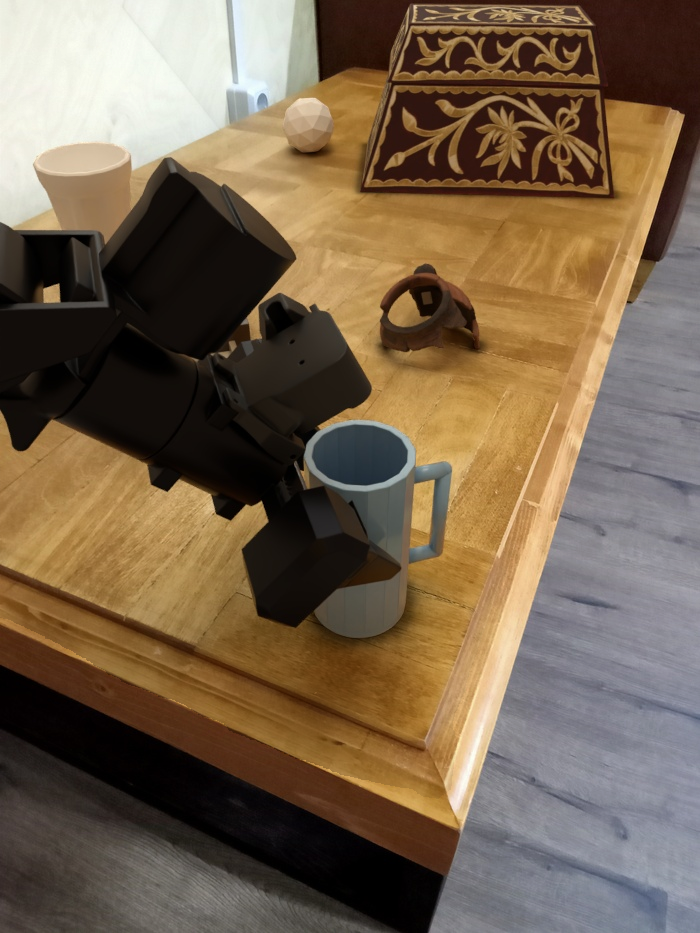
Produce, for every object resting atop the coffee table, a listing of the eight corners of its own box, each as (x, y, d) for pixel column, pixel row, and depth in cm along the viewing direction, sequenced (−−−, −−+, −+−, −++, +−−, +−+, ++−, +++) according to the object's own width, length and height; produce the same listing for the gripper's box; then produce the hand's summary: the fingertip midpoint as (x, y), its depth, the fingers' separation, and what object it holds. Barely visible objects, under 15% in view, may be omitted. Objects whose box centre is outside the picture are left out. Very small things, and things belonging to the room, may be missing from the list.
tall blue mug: (326, 648, 50) (321, 501, 41) (301, 576, 54) (292, 430, 46) (457, 615, 52) (477, 468, 43) (422, 548, 57) (434, 403, 48)
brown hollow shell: (495, 368, 75) (469, 315, 69) (406, 402, 78) (372, 354, 72) (471, 283, 82) (445, 228, 76) (390, 317, 85) (358, 266, 79)
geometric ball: (323, 167, 123) (352, 128, 118) (285, 160, 118) (314, 118, 112) (303, 131, 125) (330, 91, 120) (265, 122, 120) (292, 80, 114)
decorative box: (360, 191, 108) (361, 28, 95) (366, 145, 123) (368, -2, 110) (614, 197, 107) (651, 32, 93) (589, 149, 121) (618, 1, 108)
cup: (167, 273, 90) (148, 158, 81) (87, 301, 85) (58, 182, 76) (124, 245, 95) (102, 135, 87) (47, 270, 90) (16, 155, 82)
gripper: (319, 398, 29) (538, 538, 39) (228, 210, 43) (408, 348, 52) (145, 584, 33) (386, 670, 42) (112, 355, 46) (301, 460, 56)
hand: (370, 518), depth 48 cm, fingers open, 9 cm apart
